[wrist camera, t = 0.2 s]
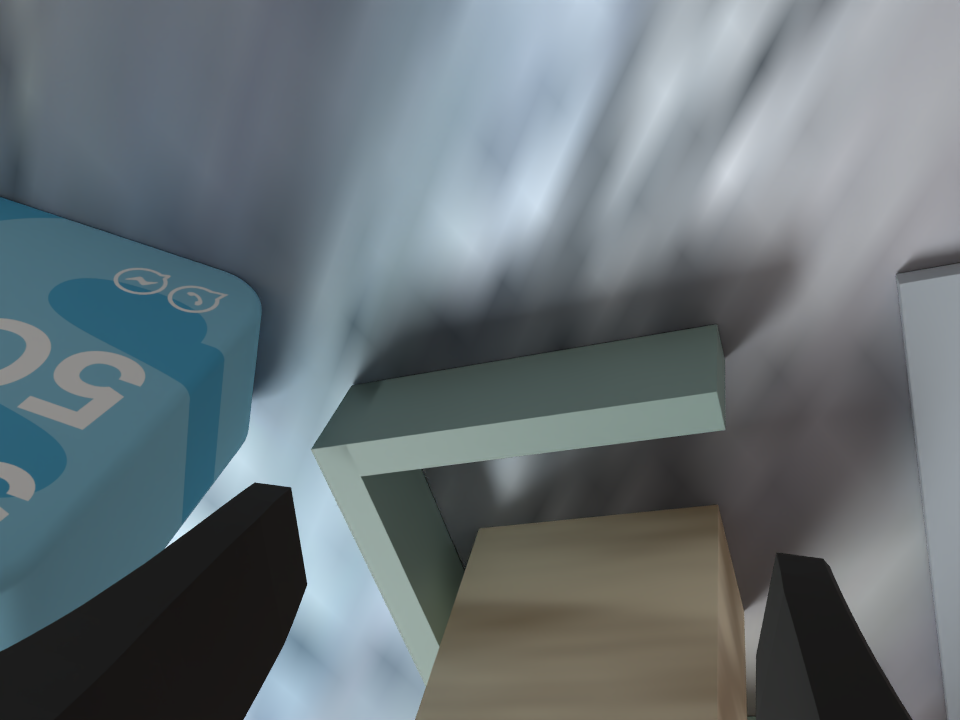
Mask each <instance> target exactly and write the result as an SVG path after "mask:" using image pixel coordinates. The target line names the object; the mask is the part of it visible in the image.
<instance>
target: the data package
mask: <svg viewBox="0 0 960 720" xmlns="http://www.w3.org/2000/svg"><path fill="white" fill-rule="evenodd" d="M261 315H262V306H261V302H260V299H259V297H258V295H257V294H256V292H255V291H254V290H253V289H252V288H251V287H250V286H249V285H248V284H247V283H246V282H244V281H243V280H241V279H240V278H238V277H236V276H234V275H232V274H230V273H227V272H225V271H222V270H219V269H216V268H213V267H210V266H207V265H204V264H201V263H198V262H195V261H192V260H189V259H186V258H183V257H180V256H177V255H174V254H171V253H168V252H165V251H162V250H159V249H156V248H153V247H150V246H147V245H144V244H141V243H138V242H135V241H132V240H129V239H126V238H123V237H120V236H117V235H113V234H110V233H107V232H104V231H101V230H98V229H95V228H92V227H89V226H86V225H83V224H80V223H77V222H74V221H71V220H68V219H65V218H62V217H59V216H56V215H53V214H50V213H47V212H44V211H41V210H38V209H35V208H32V207H29V206H26V205H23V204H20V203H17V202H14V201H11V200H8V199H5V198H2V197H0V651H2V650H4V649H6V648H8V647H10V646H12V645H14V644H16V643H18V642H19V641H21V640H23V639H25V638H27V637H28V636H30V635H32V634H34V633H35V632H37V631H39V630H41V629H43V628H44V627H46V626H48V625H50V624H51V623H53V622H55V621H57V620H58V619H60V618H62V617H63V616H65V615H67V614H68V613H70V612H72V611H73V610H75V609H76V608H78V607H80V606H81V605H83V604H85V603H86V602H88V601H89V600H91V599H92V598H94V597H95V596H97V595H98V594H100V593H101V592H103V591H104V590H106V589H107V588H109V587H110V586H112V585H113V584H115V583H116V582H118V581H119V580H121V579H122V578H124V577H125V576H127V575H128V574H130V573H131V572H133V571H134V570H136V569H137V568H139V567H140V566H142V565H143V564H144V563H146V562H147V561H149V560H150V559H151V558H153V557H154V556H156V555H157V554H158V553H160V552H161V551H162V550H164V549H165V547H166V546H167V545H168V543H169V542H170V541H171V539H172V538H173V537H174V535H175V534H176V533H177V531H178V530H179V529H180V527H181V526H182V525H183V523H184V522H185V521H186V519H187V518H188V517H189V515H190V514H191V513H192V511H193V510H194V509H195V507H196V506H197V505H198V503H199V502H200V501H201V499H202V498H203V497H204V495H205V494H206V493H207V491H208V490H209V489H210V487H211V486H212V485H213V483H214V482H215V481H216V479H217V478H218V477H219V475H220V474H221V473H222V471H223V470H224V469H225V467H226V466H227V465H228V463H229V462H230V461H231V459H232V458H233V457H234V455H235V454H236V453H237V451H238V450H239V449H240V447H241V446H242V444H243V443H244V441H245V439H246V437H247V434H248V428H249V420H250V411H251V403H252V394H253V385H254V376H255V368H256V359H257V350H258V341H259V333H260V324H261Z"/></svg>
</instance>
